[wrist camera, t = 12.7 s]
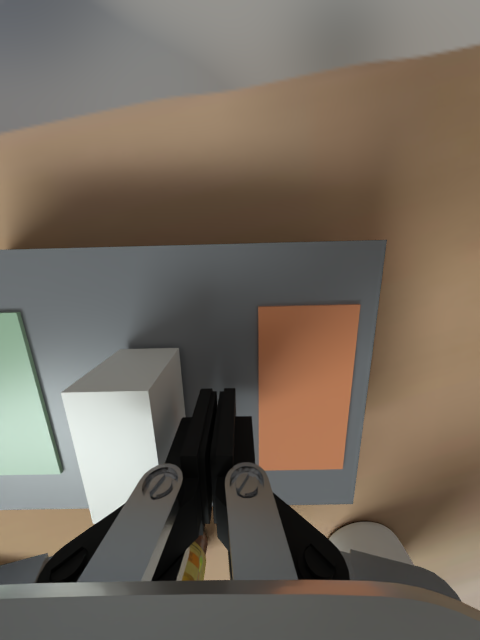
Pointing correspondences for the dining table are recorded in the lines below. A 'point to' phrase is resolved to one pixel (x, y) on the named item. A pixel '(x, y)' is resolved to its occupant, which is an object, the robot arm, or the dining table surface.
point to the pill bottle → (370, 541)
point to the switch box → (193, 351)
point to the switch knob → (124, 422)
